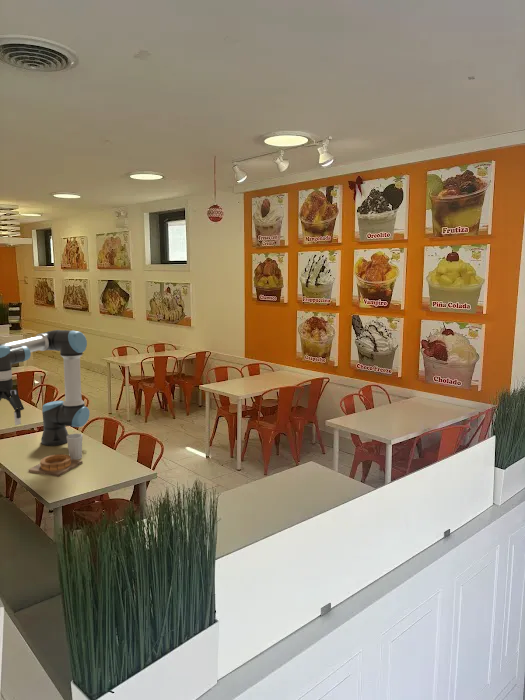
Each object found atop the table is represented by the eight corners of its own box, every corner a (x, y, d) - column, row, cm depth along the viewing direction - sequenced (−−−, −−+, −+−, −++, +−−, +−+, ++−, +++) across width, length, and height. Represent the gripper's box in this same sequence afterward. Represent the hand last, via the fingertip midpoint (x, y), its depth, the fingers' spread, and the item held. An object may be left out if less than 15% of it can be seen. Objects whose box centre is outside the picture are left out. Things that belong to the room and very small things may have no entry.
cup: (78, 461, 275) (77, 439, 273) (64, 459, 276) (63, 437, 274) (86, 455, 282) (85, 434, 280) (73, 454, 284) (71, 433, 282)
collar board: (53, 458, 278) (53, 451, 277) (82, 463, 272) (82, 455, 271) (28, 471, 261) (28, 463, 260) (58, 476, 255) (58, 468, 255)
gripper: (-23, 378, 247) (-19, 421, 251) (16, 383, 238) (20, 428, 242) (-10, 374, 254) (-6, 417, 258) (29, 379, 245) (33, 423, 249)
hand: (7, 422), depth 250 cm, fingers open, 13 cm apart
